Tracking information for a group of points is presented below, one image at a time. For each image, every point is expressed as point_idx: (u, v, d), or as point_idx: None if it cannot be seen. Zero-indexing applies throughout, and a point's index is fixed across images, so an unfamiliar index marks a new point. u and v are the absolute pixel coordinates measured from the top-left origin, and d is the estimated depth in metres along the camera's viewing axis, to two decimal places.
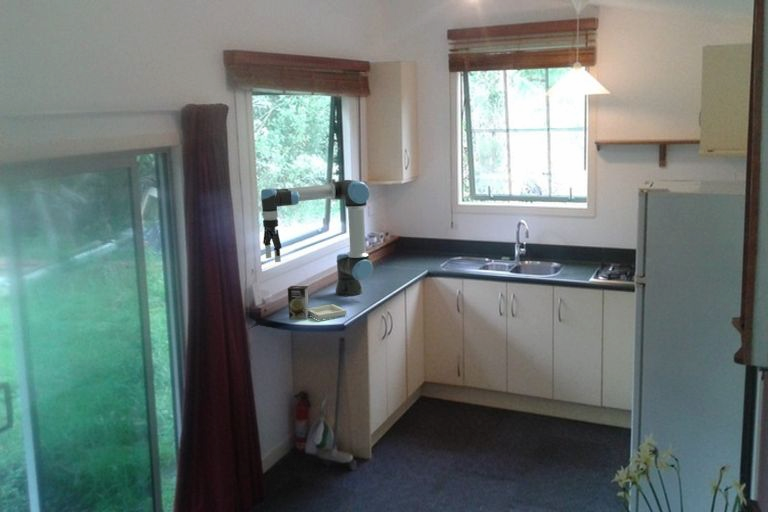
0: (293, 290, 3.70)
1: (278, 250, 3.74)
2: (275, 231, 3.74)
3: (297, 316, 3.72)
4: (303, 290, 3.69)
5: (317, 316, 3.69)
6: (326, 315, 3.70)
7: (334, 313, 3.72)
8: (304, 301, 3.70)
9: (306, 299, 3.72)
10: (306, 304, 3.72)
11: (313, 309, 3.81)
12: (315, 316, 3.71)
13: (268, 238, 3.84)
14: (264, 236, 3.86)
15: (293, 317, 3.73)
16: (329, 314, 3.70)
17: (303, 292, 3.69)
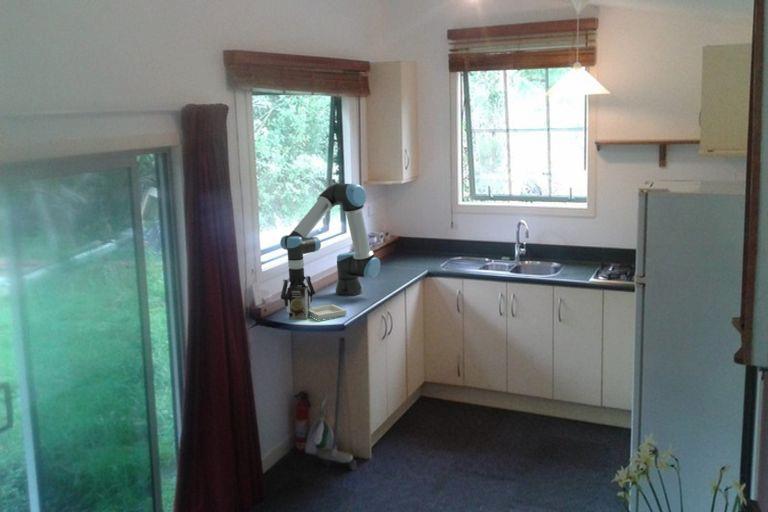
0: (293, 290, 3.70)
1: (285, 301, 3.70)
2: (284, 281, 3.68)
3: (297, 316, 3.72)
4: (303, 290, 3.69)
5: (317, 316, 3.69)
6: (326, 315, 3.70)
7: (334, 313, 3.72)
8: (304, 301, 3.70)
9: (306, 299, 3.72)
10: (306, 304, 3.72)
11: (313, 309, 3.81)
12: (315, 316, 3.71)
13: None
14: None
15: (293, 317, 3.72)
16: (329, 314, 3.70)
17: (303, 292, 3.69)
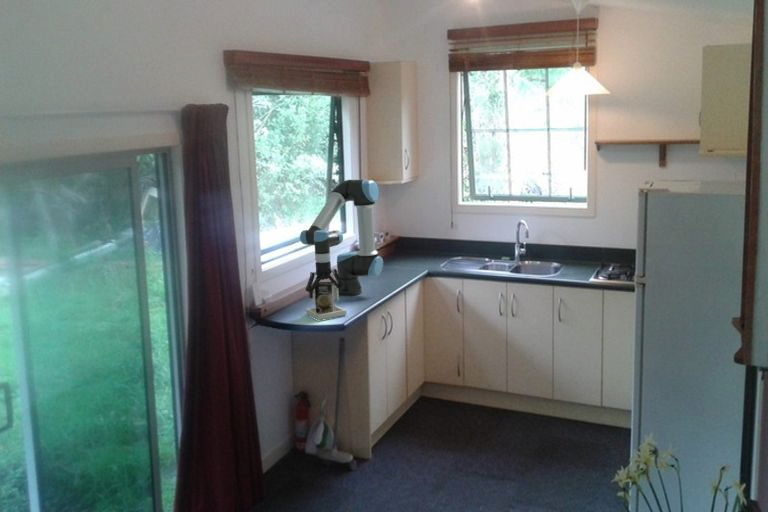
0: (320, 286, 3.72)
1: (309, 293, 3.72)
2: (311, 273, 3.71)
3: (324, 312, 3.75)
4: (330, 286, 3.71)
5: (317, 316, 3.69)
6: (326, 315, 3.70)
7: (334, 313, 3.72)
8: (331, 297, 3.73)
9: (333, 295, 3.75)
10: (333, 300, 3.75)
11: (313, 309, 3.81)
12: (315, 316, 3.71)
13: (330, 280, 3.77)
14: (336, 277, 3.79)
15: (320, 313, 3.75)
16: (329, 314, 3.70)
17: (330, 288, 3.72)
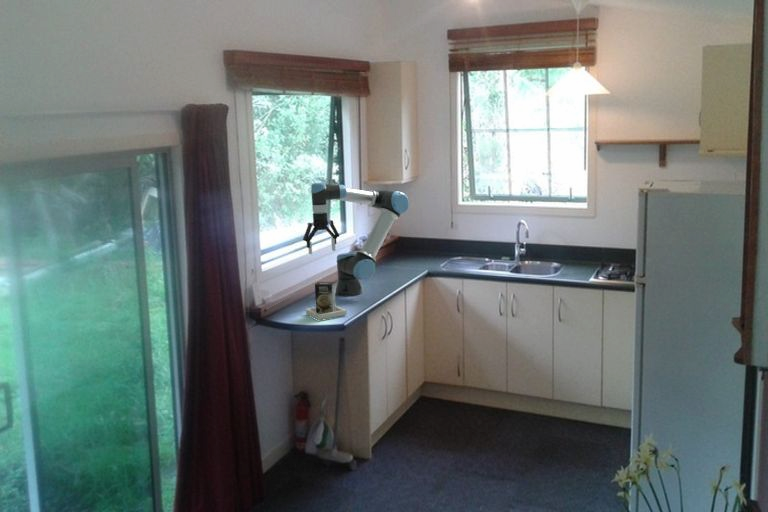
0: (320, 286, 3.72)
1: (307, 242, 3.89)
2: (308, 224, 3.88)
3: (324, 312, 3.75)
4: (330, 286, 3.72)
5: (317, 316, 3.69)
6: (326, 315, 3.70)
7: (334, 313, 3.72)
8: (331, 297, 3.73)
9: (333, 295, 3.75)
10: (333, 300, 3.75)
11: (313, 309, 3.81)
12: (315, 316, 3.71)
13: (327, 231, 3.94)
14: None
15: (320, 313, 3.75)
16: (329, 314, 3.70)
17: (330, 288, 3.72)
